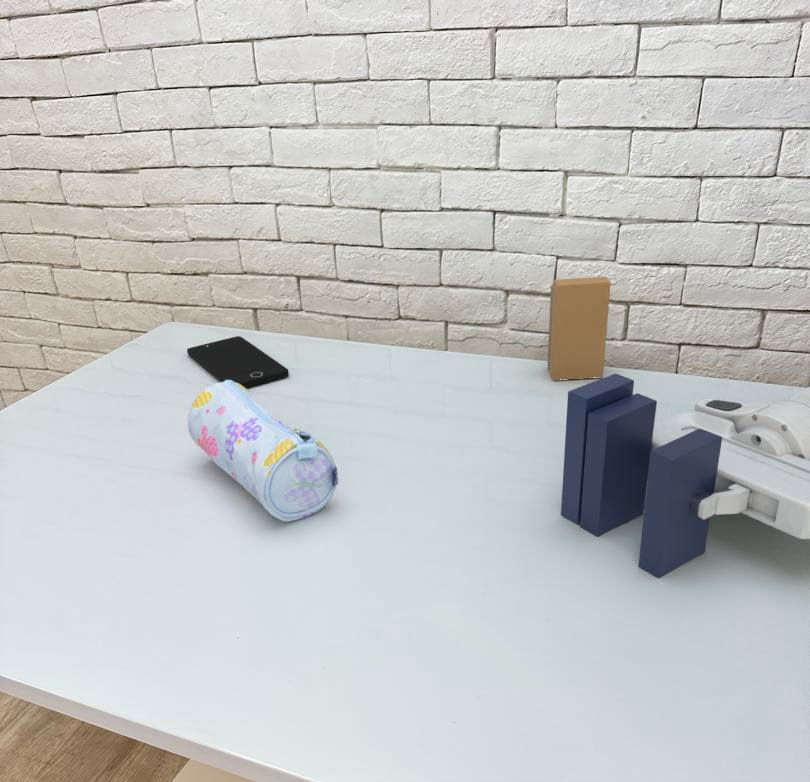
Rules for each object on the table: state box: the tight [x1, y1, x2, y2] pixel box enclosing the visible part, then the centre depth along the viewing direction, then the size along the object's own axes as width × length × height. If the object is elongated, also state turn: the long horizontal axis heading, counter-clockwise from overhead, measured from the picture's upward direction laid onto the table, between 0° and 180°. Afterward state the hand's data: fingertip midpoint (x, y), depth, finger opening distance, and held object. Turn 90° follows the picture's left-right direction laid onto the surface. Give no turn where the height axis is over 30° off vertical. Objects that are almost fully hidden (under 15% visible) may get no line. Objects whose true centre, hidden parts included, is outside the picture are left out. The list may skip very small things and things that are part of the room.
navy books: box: [560, 372, 658, 537], centre depth 83 cm, size 7×5×14 cm
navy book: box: [637, 428, 722, 579], centre depth 76 cm, size 6×2×12 cm, turn 126°
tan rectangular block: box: [546, 276, 612, 380], centre depth 113 cm, size 7×5×13 cm
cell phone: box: [186, 335, 290, 389], centre depth 125 cm, size 9×18×1 cm, turn 32°
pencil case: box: [187, 380, 339, 522], centre depth 93 cm, size 21×9×10 cm, turn 35°
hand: (678, 501), depth 76 cm, fingers closed on navy book, 2 cm apart
